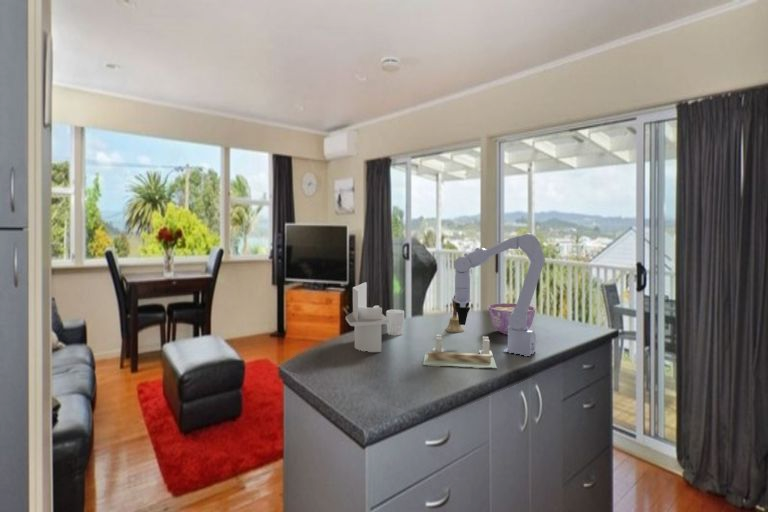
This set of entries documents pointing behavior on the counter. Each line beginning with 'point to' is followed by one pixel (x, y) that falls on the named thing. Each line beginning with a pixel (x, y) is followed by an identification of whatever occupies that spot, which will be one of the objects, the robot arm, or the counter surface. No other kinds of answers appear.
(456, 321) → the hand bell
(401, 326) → the white cup
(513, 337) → the robot arm
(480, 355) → the oak rail
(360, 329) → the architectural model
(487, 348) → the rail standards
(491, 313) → the bowl of food
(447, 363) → the green mat
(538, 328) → the counter surface
